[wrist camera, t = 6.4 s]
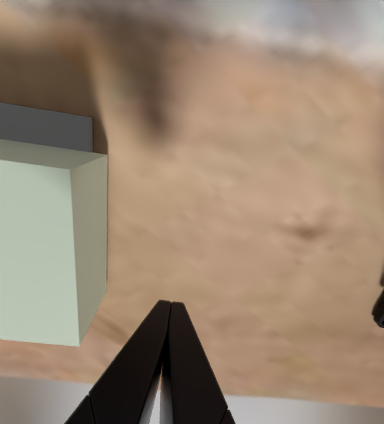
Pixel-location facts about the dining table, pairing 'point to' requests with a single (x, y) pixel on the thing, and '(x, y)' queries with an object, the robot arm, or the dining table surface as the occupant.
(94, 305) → the slab
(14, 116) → the mat
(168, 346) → the robot arm
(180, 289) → the dining table surface
